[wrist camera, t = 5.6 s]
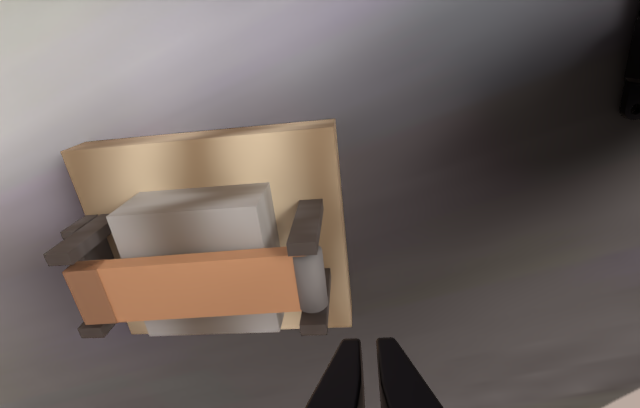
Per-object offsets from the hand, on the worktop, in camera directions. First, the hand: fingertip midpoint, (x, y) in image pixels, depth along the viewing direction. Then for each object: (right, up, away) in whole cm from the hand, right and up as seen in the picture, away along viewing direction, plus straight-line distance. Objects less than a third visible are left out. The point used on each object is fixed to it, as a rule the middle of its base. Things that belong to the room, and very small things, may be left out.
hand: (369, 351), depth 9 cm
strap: (-7, 0, +9) cm, 11 cm away
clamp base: (-7, +2, +14) cm, 15 cm away
